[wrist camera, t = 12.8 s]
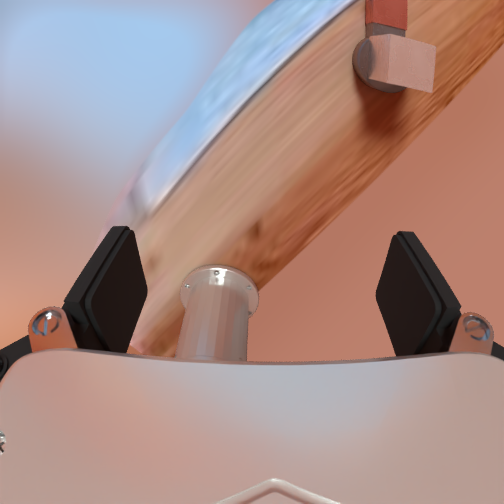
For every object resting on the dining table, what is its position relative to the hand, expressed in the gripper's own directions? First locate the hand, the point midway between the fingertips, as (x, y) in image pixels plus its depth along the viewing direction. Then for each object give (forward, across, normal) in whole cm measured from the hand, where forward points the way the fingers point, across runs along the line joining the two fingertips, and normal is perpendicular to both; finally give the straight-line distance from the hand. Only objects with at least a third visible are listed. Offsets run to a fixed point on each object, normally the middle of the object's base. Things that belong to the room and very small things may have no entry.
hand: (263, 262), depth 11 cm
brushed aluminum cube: (+26, -14, -8) cm, 30 cm away
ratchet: (+28, -14, -12) cm, 34 cm away
